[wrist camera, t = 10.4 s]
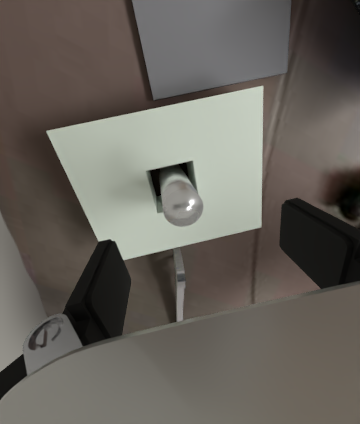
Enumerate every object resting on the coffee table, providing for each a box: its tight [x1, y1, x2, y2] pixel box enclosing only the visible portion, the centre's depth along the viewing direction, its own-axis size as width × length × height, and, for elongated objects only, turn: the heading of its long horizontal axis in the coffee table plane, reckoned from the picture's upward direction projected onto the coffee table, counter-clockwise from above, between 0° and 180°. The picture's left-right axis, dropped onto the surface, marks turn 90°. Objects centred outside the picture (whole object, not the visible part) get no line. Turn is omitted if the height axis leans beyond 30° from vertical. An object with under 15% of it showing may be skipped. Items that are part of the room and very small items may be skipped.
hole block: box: [46, 86, 263, 260], centre depth 20 cm, size 18×14×5 cm
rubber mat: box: [132, 0, 291, 100], centre depth 16 cm, size 14×12×1 cm
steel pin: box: [159, 164, 203, 227], centre depth 18 cm, size 3×3×10 cm
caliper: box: [173, 247, 186, 322], centre depth 29 cm, size 20×1×6 cm, turn 1°
